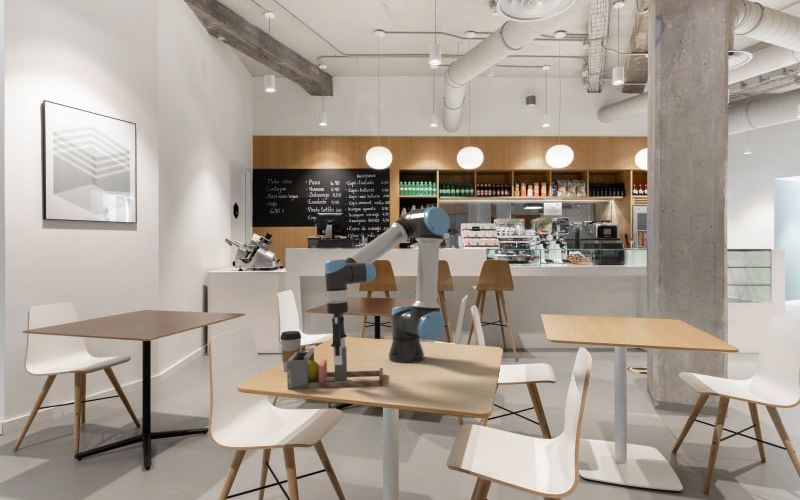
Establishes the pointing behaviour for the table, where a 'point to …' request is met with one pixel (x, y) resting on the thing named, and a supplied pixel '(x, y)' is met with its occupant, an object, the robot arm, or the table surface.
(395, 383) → the table surface
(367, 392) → the table surface
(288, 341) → the coffee cup
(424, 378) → the table surface
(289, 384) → the grey open bin
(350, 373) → the lane rails
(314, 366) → the lemon
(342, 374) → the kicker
